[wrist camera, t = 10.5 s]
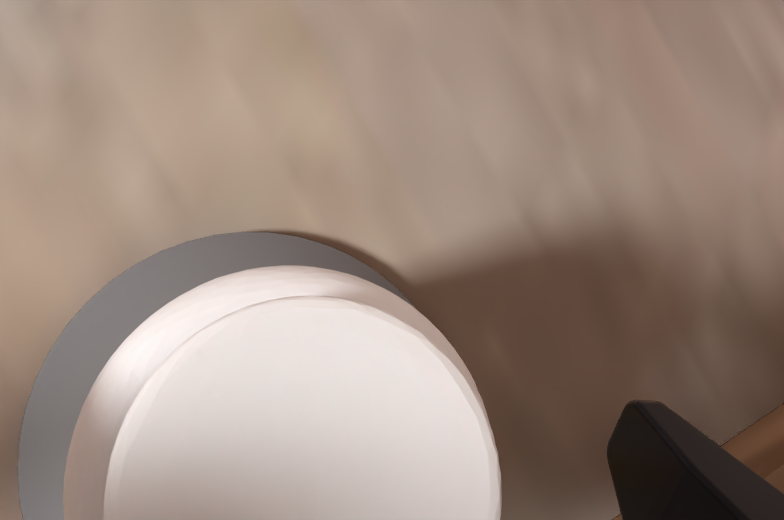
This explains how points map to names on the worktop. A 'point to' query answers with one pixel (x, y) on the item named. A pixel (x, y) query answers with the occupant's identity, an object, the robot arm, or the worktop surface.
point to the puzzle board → (761, 448)
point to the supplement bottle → (284, 410)
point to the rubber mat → (118, 320)
